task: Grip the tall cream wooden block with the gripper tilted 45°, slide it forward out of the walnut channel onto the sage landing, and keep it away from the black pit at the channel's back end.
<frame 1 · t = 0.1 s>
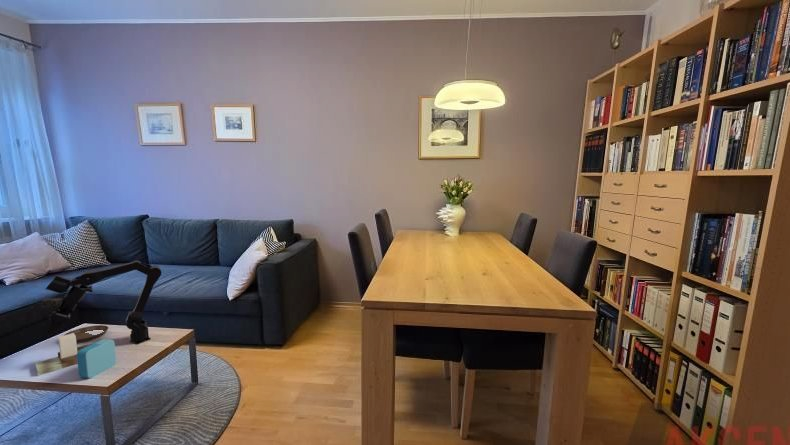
hand: (50, 329, 145), 15 cm above the table, tool tilted 35°, fingers open, 9 cm apart
data package: (98, 371, 139), on the table
plant saucer: (86, 337, 169), on the table
walnut channel: (74, 360, 147), on the table
cream block: (69, 357, 145), point 2 cm above the table, touching walnut channel
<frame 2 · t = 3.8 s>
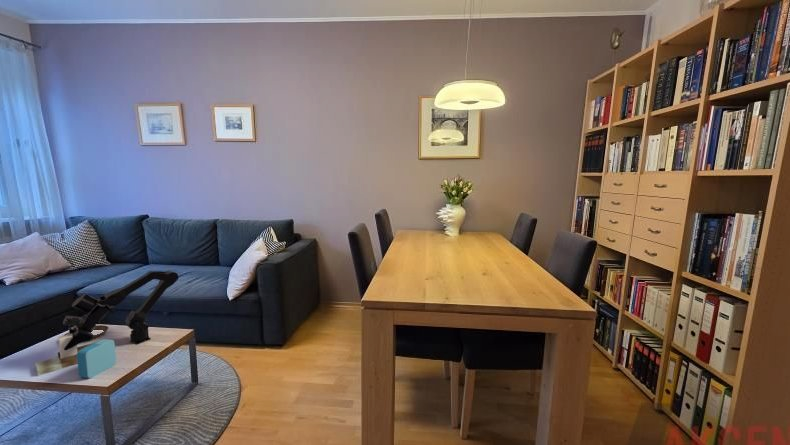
hand: (63, 348, 144), 7 cm above the table, tool tilted 45°, fingers closed on cream block, 5 cm apart
cream block: (69, 357, 145), point 2 cm above the table, touching gripper, walnut channel
everything else where it was.
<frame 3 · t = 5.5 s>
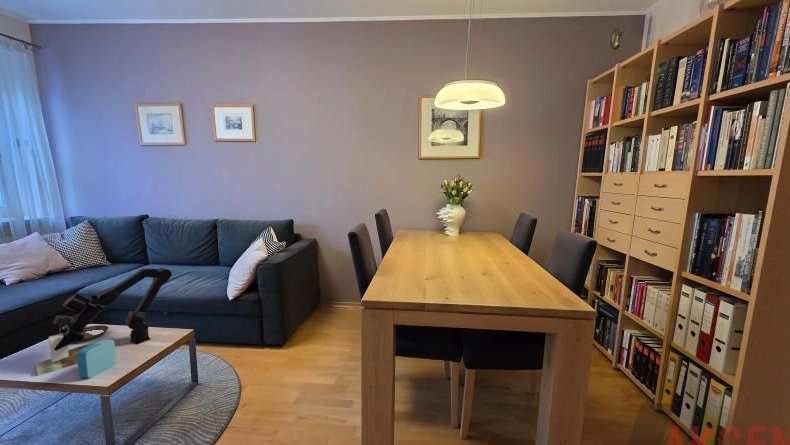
hand: (54, 348, 141), 8 cm above the table, tool tilted 45°, fingers closed on cream block, 5 cm apart
cream block: (59, 357, 143), point 3 cm above the table, touching gripper
everything else where it was.
when the fingers open (7 cm above the table, at t = 7.1 s): cream block stays where it is, resting on walnut channel.
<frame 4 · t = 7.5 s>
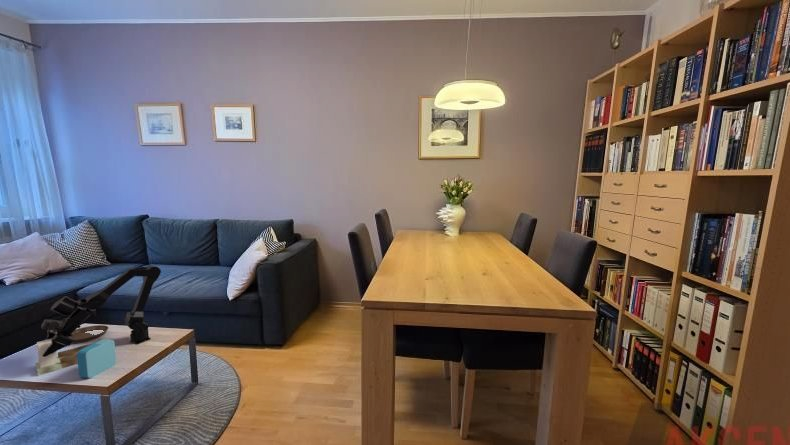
hand: (42, 352, 139), 8 cm above the table, tool tilted 45°, fingers open, 9 cm apart
cream block: (48, 363, 140), point 2 cm above the table, touching walnut channel
everything else where it was.
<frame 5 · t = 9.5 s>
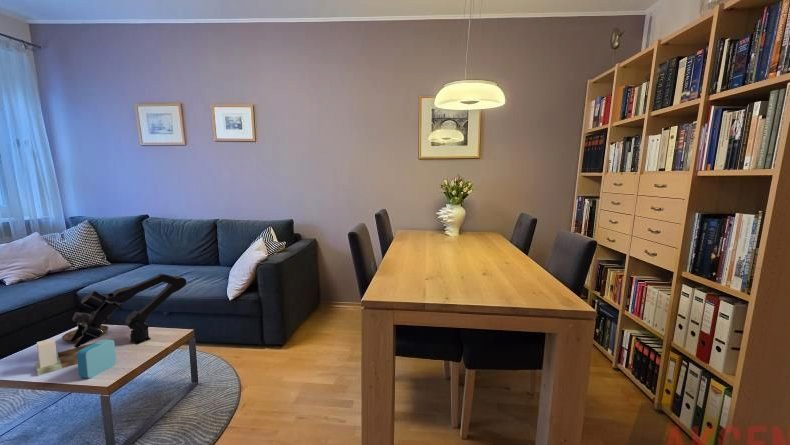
hand: (73, 344, 146), 8 cm above the table, tool tilted 45°, fingers open, 9 cm apart
nothing on the table moved.
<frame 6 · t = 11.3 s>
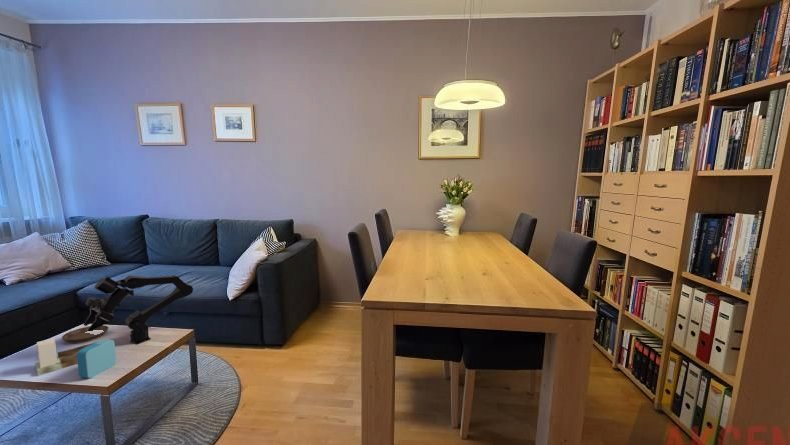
hand: (86, 328, 149), 14 cm above the table, tool tilted 45°, fingers open, 9 cm apart
nothing on the table moved.
at the end: cream block 0.4 cm from the target spot, point 2.0 cm above the table; cream block tilted 0°; the gripper is holding nothing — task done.
